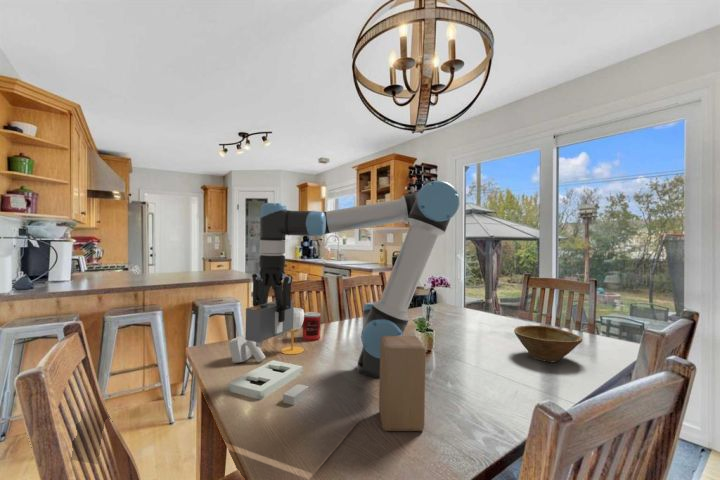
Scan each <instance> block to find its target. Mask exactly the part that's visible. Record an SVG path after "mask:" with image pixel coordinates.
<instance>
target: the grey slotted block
mask: <svg viewBox="0 0 720 480" xmlns="http://www.w3.org/2000/svg"><path fill="white" fill-rule="evenodd" d="M294 302H295V301H294V300H291V308H290V309H287V310H285V316H284V317H285V320H284V321H283V327H282V332H280V333H278V334H275V312H276V310H277V305H276V300H274V301H273V300H272V301H270V302H267V303H265V304H261V305H257V306H253V305H252V306H251V307H246V308H245V333H244V335H245V340H248V341H254V342H256V347H259V348H261V347H263V346H264V341H267V340H269V339H272V338H274V337H276V336H277V338H279V339H283V338H285V333H286V332H288V331H289V330H291V329H293V314H294V308H295V306H294V304H295V303H294Z"/></svg>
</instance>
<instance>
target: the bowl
mask: <svg viewBox="0 0 720 480" xmlns="http://www.w3.org/2000/svg"><path fill="white" fill-rule="evenodd" d="M513 332H514V334H515V336H516V338H517V339H518V340H519V342H520V344H521V345H522V346H523V347H524V348H525V350H526V351H527V352H528V353H529V354H530V356H531V357H532V358H533V357H534V358H533V359H535V358H536V359H535V360H538V359H539V360H538V361H541V360H545V361H544V362H546V361H557V362H559V361H560V360H561V359H563V358H564V357H566V356H567V355H568V354H570V353H571V352H572V351H573V350H574V349H576V348H577V346H579V345H580V344H581V343H582V341H583V337H581V336H580V335H578V334H576V333H573V332H571V331H568V330H567V331H566V330H563V329H559V328H557V327H552V326H547V325H546V326H545V325H535V324H534V325H531V324H530V325H529V324H528V325H520V326H517V327H515V328H514V330H513ZM558 360H559V361H558Z"/></svg>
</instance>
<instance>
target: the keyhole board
mask: <svg viewBox="0 0 720 480" xmlns="http://www.w3.org/2000/svg"><path fill="white" fill-rule="evenodd" d="M274 370H275V371H274ZM276 370H278V371H276ZM280 371H282V372H280ZM303 371H304V368H303V365H298V364H293V363H290V362H289V363H288V362H283V361H280V360H274V359H272V360H271V361H268V362H267V363H265V364H263V365H261V366H259V367H257V368H254V369H253V370H251V371H249V372H247V373H245V374H243V375H240V376H239V377H237V378H235V379H233V380H231V381H229V382H227V392H229V393H234V394H238V395H240V396H241V395H242V396H244V397H245V396H246V397H248V398H252V399H257V400H259V401H260V400H263V399H265V398H266V397H267V396H269V395H270V394H273V393H274V392H275V391H277V390H279V389H280V388H281V387H283V386H285V385H286V384H288V383H290V382H292V381H293V380H294V379H296V378H298V377H299V376H300V375H302V374H304V373H303ZM251 381H255V382H258V381H259V382H260V381H262V382H264V383H263V384H262V385H259V384H254V383H251Z"/></svg>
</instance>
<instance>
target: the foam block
mask: <svg viewBox="0 0 720 480" xmlns="http://www.w3.org/2000/svg"><path fill="white" fill-rule="evenodd" d="M309 388H310V387H309V386H308V385H304V384H300V383H297V384H296V385H294V386H292V387H291V388H290V389H288V390H287V391H285V392H284V393H283V394H282V403H284V404H288V405H291V406H295V405H297V404H298V403H299V402H300V401H302V400H303V399H304V398H306V397H308V395H309V394H310V393H309V390H310V389H309Z"/></svg>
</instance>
